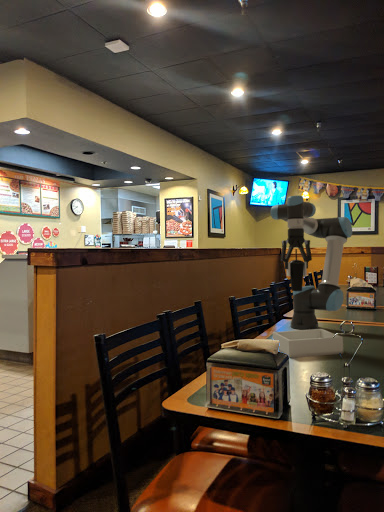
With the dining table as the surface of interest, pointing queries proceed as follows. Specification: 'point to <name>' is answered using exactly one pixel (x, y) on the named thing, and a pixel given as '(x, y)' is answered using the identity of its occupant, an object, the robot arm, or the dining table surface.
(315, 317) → the robot arm
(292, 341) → the box
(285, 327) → the dining table surface
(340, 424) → the dining table surface
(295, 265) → the drinking cup
